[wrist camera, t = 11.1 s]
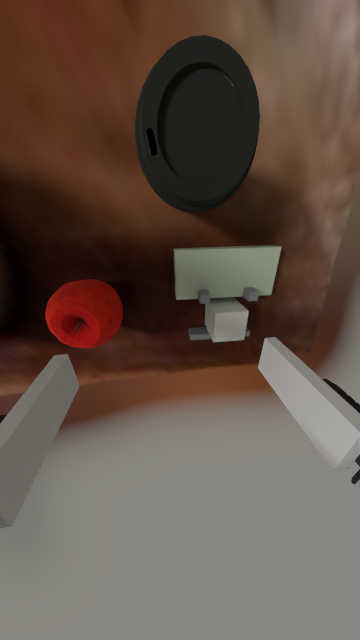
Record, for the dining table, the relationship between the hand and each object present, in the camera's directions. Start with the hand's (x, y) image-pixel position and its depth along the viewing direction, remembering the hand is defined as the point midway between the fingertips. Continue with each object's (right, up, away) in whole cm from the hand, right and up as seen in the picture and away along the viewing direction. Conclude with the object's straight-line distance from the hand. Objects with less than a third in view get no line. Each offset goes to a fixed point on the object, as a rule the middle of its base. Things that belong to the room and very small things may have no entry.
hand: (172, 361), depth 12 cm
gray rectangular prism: (+8, +5, +24) cm, 26 cm away
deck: (+8, +8, +22) cm, 25 cm away
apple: (-14, +7, +20) cm, 26 cm away
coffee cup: (+1, +23, +14) cm, 27 cm away
